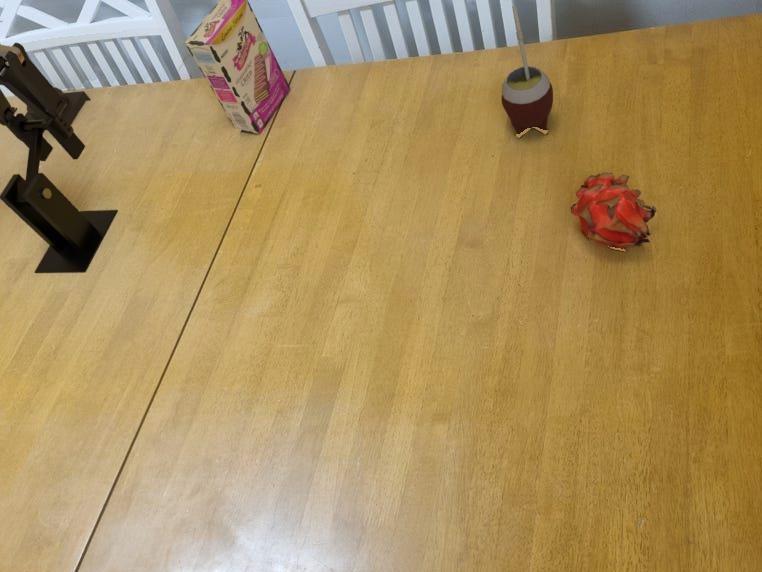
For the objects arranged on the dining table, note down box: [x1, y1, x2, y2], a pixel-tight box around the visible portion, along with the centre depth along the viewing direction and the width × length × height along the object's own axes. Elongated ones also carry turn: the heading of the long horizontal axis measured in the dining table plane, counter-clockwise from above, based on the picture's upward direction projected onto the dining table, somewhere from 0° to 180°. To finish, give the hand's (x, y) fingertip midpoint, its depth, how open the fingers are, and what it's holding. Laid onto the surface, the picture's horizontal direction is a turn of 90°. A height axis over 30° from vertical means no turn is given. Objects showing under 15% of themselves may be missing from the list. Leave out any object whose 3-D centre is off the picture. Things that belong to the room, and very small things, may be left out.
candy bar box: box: [184, 0, 291, 135], centre depth 113 cm, size 11×5×16 cm, turn 160°
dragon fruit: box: [570, 172, 657, 249], centre depth 88 cm, size 8×8×12 cm
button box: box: [24, 86, 92, 134], centre depth 130 cm, size 10×8×4 cm
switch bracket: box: [0, 172, 119, 274], centre depth 106 cm, size 12×9×13 cm
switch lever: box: [16, 120, 48, 207], centre depth 103 cm, size 12×5×2 cm, turn 171°
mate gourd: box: [501, 5, 554, 134], centre depth 99 cm, size 8×8×15 cm
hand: (63, 153), depth 108 cm, fingers closed on switch lever, 5 cm apart
